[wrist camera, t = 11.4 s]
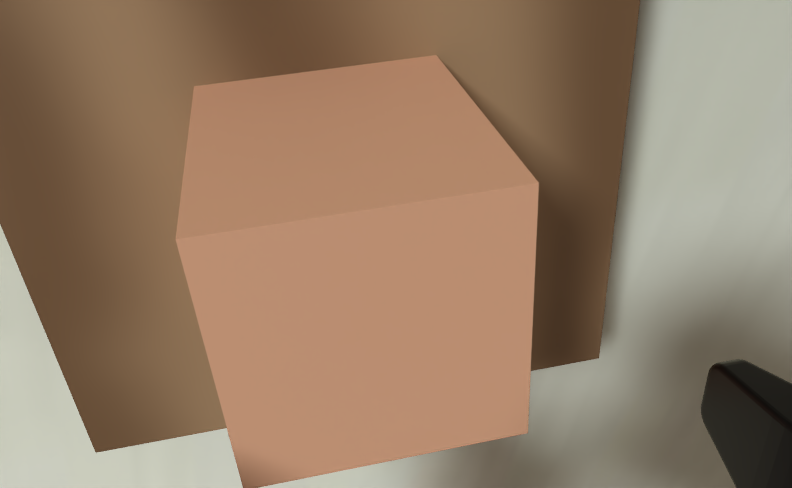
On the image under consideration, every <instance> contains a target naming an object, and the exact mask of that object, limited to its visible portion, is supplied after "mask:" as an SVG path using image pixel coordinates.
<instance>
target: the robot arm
mask: <svg viewBox="0 0 792 488" xmlns="http://www.w3.org/2000/svg"><path fill="white" fill-rule="evenodd" d="M701 414H702V418H703V422H704V424H705V426H706V428H707V430H708V432H709V434H710V436H711V438H712V440H713V442H714V444H715V446H716V448H717V450H718V452H719V454H720V456H721V458H722V460H723V462H724V464H725V466H726V468H727V470H728V472H729V474H730V476H731V478H732V480H733V482H734V484H735V486H736V488H792V384H791V383H789V382H787V381H785V380H783V379H781V378H779V377H777V376H775V375H773V374H771V373H769V372H767V371H765V370H763V369H761V368H759V367H757V366H755V365H753V364H751V363H749V362H747V361H745V360H739V359H737V360H731V361H726V362H721V363H716V364H714V365H713V366H712V367H711V368H710V370H709V373H708V377H707V382H706V386H705V391H704V395H703V400H702V404H701Z"/></svg>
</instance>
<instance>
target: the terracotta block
mask: <svg viewBox="0 0 792 488" xmlns="http://www.w3.org/2000/svg"><path fill="white" fill-rule="evenodd" d="M538 193H539V182H538V181H537V180H536V179H535V177H534V176H533V175H532V174H531V172H530V171H529V170H528V169H527V167H526V166H525V165H524V164H523V162H522V161H521V160H520V159H519V157H518V156H517V155H516V154H515V152H514V151H513V150H512V149H511V147H510V146H509V145H508V144H507V142H506V141H505V140H504V139H503V137H502V136H501V135H500V134H499V133H498V131H497V130H496V129H495V128H494V126H493V125H492V124H491V123H490V121H489V120H488V119H487V118H486V116H485V115H484V114H483V113H482V111H481V110H480V109H479V108H478V106H477V105H476V104H475V103H474V101H473V100H472V99H471V98H470V96H469V95H468V94H467V93H466V91H465V90H464V89H463V88H462V86H461V85H460V84H459V83H458V81H457V80H456V79H455V78H454V76H453V75H452V74H451V73H450V71H449V70H448V69H447V68H446V66H445V65H444V64H443V63H442V61H441V60H440V59H439V58H438V56H437V55H433V56H425V57H417V58H410V59H402V60H394V61H386V62H379V63H371V64H363V65H355V66H348V67H340V68H332V69H324V70H317V71H309V72H301V73H293V74H286V75H278V76H270V77H262V78H255V79H247V80H239V81H232V82H224V83H216V84H208V85H201V86H194V90H193V99H192V107H191V115H190V123H189V132H188V140H187V148H186V156H185V165H184V173H183V181H182V190H181V198H180V206H179V214H178V223H177V231H176V239H175V240H176V243H177V247H178V251H179V254H180V258H181V262H182V265H183V269H184V273H185V276H186V280H187V284H188V287H189V291H190V295H191V298H192V302H193V306H194V309H195V313H196V317H197V320H198V324H199V328H200V331H201V335H202V339H203V342H204V346H205V350H206V353H207V357H208V361H209V364H210V368H211V372H212V375H213V379H214V383H215V386H216V390H217V393H218V397H219V401H220V404H221V408H222V412H223V415H224V419H225V423H226V426H227V430H228V434H229V437H230V441H231V445H232V448H233V452H234V456H235V459H236V463H237V467H238V470H239V474H240V478H241V481H242V485H243V488H258V487H263V486H268V485H273V484H278V483H283V482H288V481H293V480H298V479H303V478H307V477H312V476H317V475H322V474H327V473H332V472H337V471H342V470H347V469H352V468H357V467H362V466H367V465H372V464H377V463H382V462H387V461H392V460H397V459H402V458H407V457H412V456H417V455H422V454H427V453H432V452H437V451H442V450H446V449H451V448H456V447H461V446H466V445H471V444H476V443H481V442H486V441H491V440H496V439H501V438H506V437H511V436H516V435H521V434H526V433H528V417H529V394H530V372H531V350H532V327H533V305H534V283H535V260H536V238H537V216H538Z"/></svg>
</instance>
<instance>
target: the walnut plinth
mask: <svg viewBox="0 0 792 488" xmlns="http://www.w3.org/2000/svg"><path fill="white" fill-rule="evenodd" d="M639 5H640V0H0V224H1V227H2V229H3V231H4V234H5V236H6V239H7V241H8V243H9V246H10V248H11V251H12V253H13V255H14V258H15V260H16V263H17V265H18V267H19V270H20V272H21V275H22V277H23V279H24V282H25V284H26V287H27V289H28V291H29V294H30V296H31V299H32V301H33V303H34V306H35V308H36V311H37V313H38V315H39V318H40V320H41V323H42V325H43V327H44V330H45V332H46V334H47V337H48V339H49V342H50V344H51V346H52V349H53V351H54V354H55V356H56V358H57V361H58V363H59V366H60V368H61V370H62V373H63V375H64V378H65V380H66V382H67V385H68V387H69V390H70V392H71V394H72V397H73V399H74V402H75V404H76V406H77V409H78V411H79V414H80V416H81V418H82V421H83V423H84V426H85V428H86V430H87V433H88V435H89V437H90V440H91V442H92V445H93V447H94V449H95V452H101V451H107V450H112V449H117V448H123V447H128V446H133V445H139V444H144V443H149V442H155V441H160V440H165V439H171V438H176V437H181V436H187V435H192V434H197V433H203V432H208V431H213V430H219V429H224V428H227V426H226V423H225V419H224V415H223V412H222V408H221V404H220V401H219V397H218V393H217V390H216V386H215V383H214V379H213V375H212V372H211V368H210V364H209V361H208V357H207V353H206V350H205V346H204V342H203V339H202V335H201V331H200V328H199V324H198V320H197V317H196V313H195V309H194V306H193V302H192V298H191V295H190V291H189V287H188V284H187V280H186V276H185V273H184V269H183V265H182V262H181V258H180V254H179V251H178V247H177V243H176V240H175V239H176V231H177V223H178V214H179V206H180V198H181V190H182V181H183V173H184V165H185V156H186V148H187V140H188V132H189V123H190V115H191V107H192V99H193V90H194V86H201V85H208V84H216V83H224V82H232V81H239V80H247V79H255V78H262V77H270V76H278V75H286V74H293V73H301V72H309V71H317V70H324V69H332V68H340V67H348V66H355V65H363V64H371V63H379V62H386V61H394V60H402V59H410V58H417V57H425V56H433V55H437V56H438V58H439V59H440V60H441V61H442V63H443V64H444V65H445V66H446V68H447V69H448V70H449V71H450V73H451V74H452V75H453V76H454V78H455V79H456V80H457V81H458V83H459V84H460V85H461V86H462V88H463V89H464V90H465V91H466V93H467V94H468V95H469V96H470V98H471V99H472V100H473V101H474V103H475V104H476V105H477V106H478V108H479V109H480V110H481V111H482V113H483V114H484V115H485V116H486V118H487V119H488V120H489V121H490V123H491V124H492V125H493V126H494V128H495V129H496V130H497V131H498V133H499V134H500V135H501V136H502V137H503V139H504V140H505V141H506V142H507V144H508V145H509V146H510V147H511V149H512V150H513V151H514V152H515V154H516V155H517V156H518V157H519V159H520V160H521V161H522V162H523V164H524V165H525V166H526V167H527V169H528V170H529V171H530V172H531V174H532V175H533V176H534V177H535V179H536V180H537V181H538V182H539V193H538V216H537V238H536V260H535V283H534V305H533V327H532V350H531V371H533V370H538V369H543V368H549V367H554V366H559V365H565V364H570V363H575V362H581V361H586V360H591V359H597V358H599V353H600V345H601V336H602V327H603V319H604V310H605V301H606V292H607V284H608V275H609V266H610V258H611V249H612V240H613V232H614V223H615V214H616V206H617V197H618V188H619V179H620V171H621V162H622V153H623V145H624V136H625V127H626V119H627V110H628V101H629V92H630V84H631V75H632V66H633V58H634V49H635V40H636V32H637V23H638V14H639Z"/></svg>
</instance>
